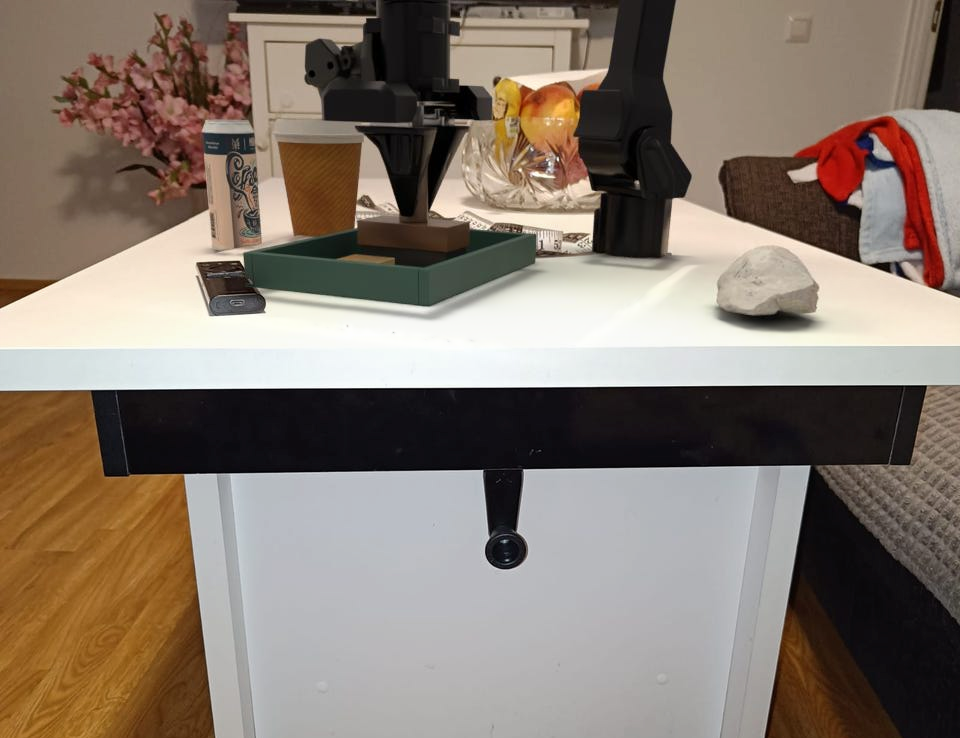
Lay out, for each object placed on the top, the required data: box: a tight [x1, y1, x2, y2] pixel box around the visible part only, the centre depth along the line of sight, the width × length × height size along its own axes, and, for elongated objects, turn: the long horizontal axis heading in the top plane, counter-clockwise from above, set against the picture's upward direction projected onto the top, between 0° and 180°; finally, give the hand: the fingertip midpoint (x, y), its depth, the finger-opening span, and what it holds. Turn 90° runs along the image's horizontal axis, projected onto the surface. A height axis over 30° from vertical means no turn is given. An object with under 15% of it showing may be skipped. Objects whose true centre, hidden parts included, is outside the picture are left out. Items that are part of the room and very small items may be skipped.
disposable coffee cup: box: [271, 118, 366, 238], centre depth 97 cm, size 10×10×12 cm
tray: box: [242, 227, 537, 308], centre depth 77 cm, size 16×22×3 cm
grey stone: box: [716, 244, 820, 317], centre depth 67 cm, size 9×8×5 cm
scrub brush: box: [356, 166, 471, 268], centre depth 77 cm, size 8×4×8 cm, turn 66°
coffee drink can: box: [201, 119, 263, 253], centre depth 89 cm, size 5×5×12 cm
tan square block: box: [338, 254, 395, 265], centre depth 71 cm, size 4×4×2 cm
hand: (414, 214), depth 78 cm, fingers closed on scrub brush, 2 cm apart
